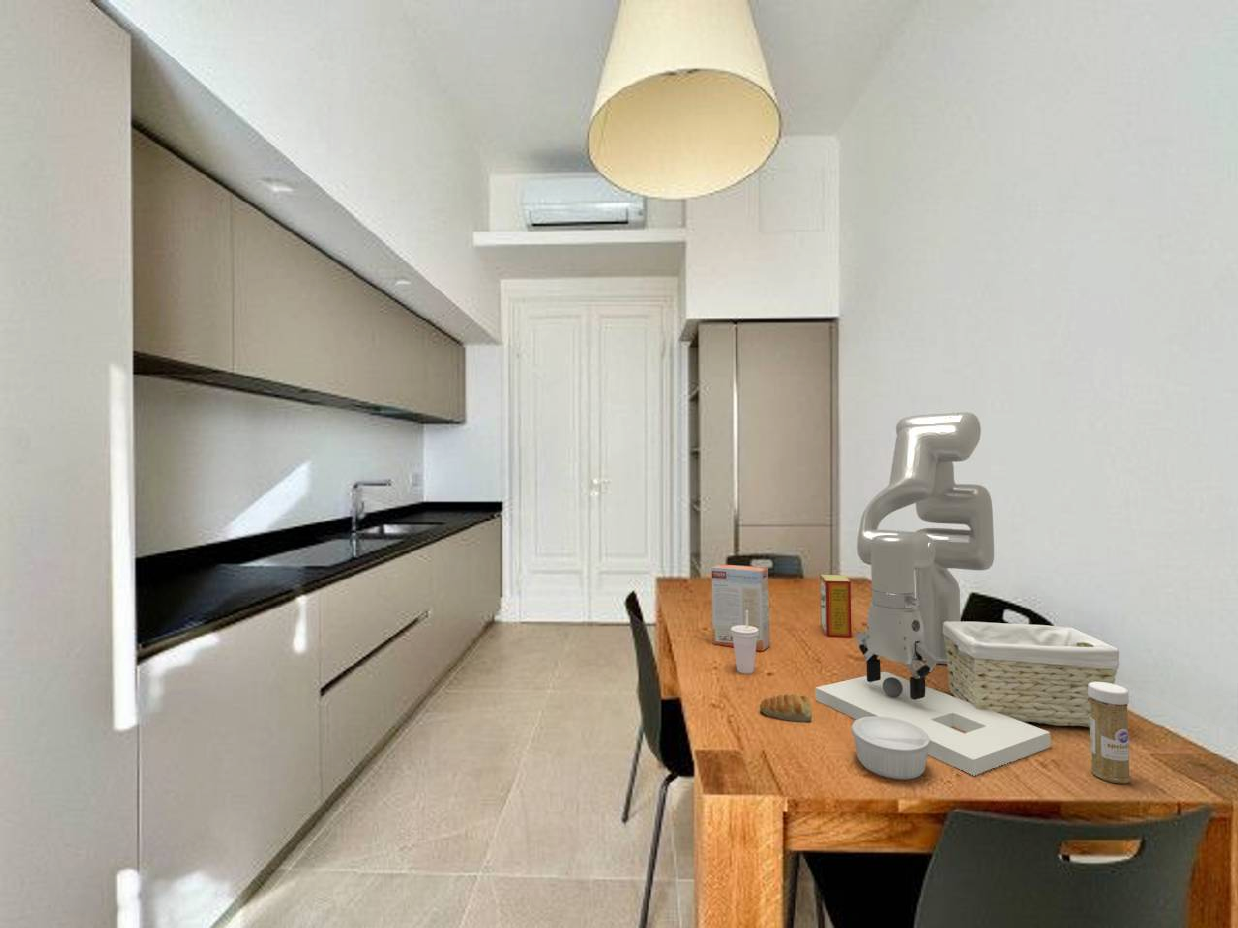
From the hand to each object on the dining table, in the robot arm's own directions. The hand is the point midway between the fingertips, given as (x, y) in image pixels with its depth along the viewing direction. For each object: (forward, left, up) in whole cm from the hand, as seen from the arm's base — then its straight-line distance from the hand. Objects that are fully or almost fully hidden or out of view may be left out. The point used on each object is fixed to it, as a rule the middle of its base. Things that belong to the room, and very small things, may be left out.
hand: (894, 688), depth 108 cm
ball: (0, -1, 0) cm, 1 cm away
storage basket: (-21, +11, -4) cm, 24 cm away
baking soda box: (-30, -44, -4) cm, 53 cm away
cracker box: (+1, -47, -4) cm, 47 cm away
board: (0, +5, -4) cm, 7 cm away
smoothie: (+12, -31, -4) cm, 33 cm away
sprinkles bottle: (-8, +30, -4) cm, 32 cm away
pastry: (+19, -8, -4) cm, 21 cm away
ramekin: (+18, +13, -4) cm, 23 cm away
